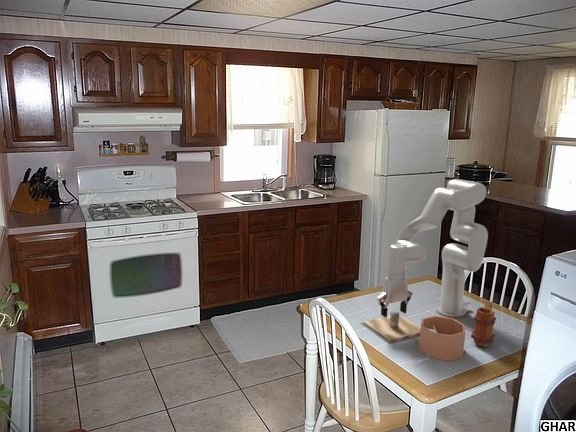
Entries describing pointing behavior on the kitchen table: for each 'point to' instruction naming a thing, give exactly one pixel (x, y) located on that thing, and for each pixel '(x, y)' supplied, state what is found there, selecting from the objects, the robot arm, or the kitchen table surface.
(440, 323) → the bowl
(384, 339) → the mat
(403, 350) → the kitchen table surface
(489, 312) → the mug
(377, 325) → the lid
